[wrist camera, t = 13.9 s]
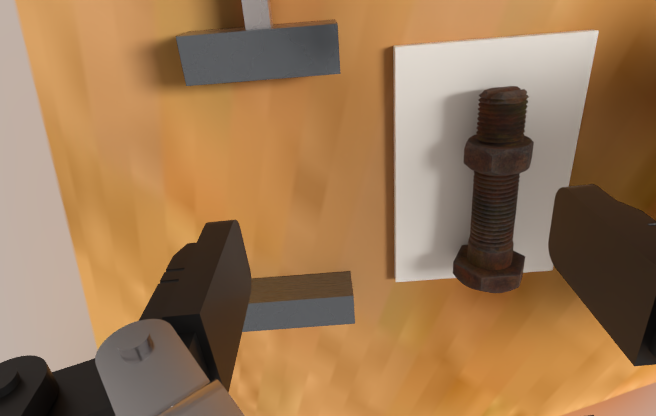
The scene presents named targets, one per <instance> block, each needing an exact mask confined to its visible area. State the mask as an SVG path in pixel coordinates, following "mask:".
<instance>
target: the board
mask: <svg viewBox="0 0 656 416" xmlns="http://www.w3.org/2000/svg"><path fill="white" fill-rule="evenodd" d="M598 32H599V31H598V30H581V31H569V32H556V33H544V34H531V35H519V36H507V37H494V38H482V39H469V40H457V41H445V42H432V43H420V44H407V45H395V46H393V67H394V275H395V281H396V282H406V281H419V280H433V279H446V278H456V277H455V275H454V274H453V261H454V260H455V258H456V256H457V254H458V252H459V250H460V248H461V246H462V245H468V239H469V237H470V230H471V229H470V227H471V215H472V214H471V211H472V199H473V198H472V196H473V183H474V182H473V179H474V177H473V176H474V171H473V170H471V169H470V168H469V167H468V166H466V165H465V164H464V163H463V162H464V148H465V145H466V142H467V141H468V139H469V138H470V137H471V136H473V135H476V134H477V133H476V132H477V131H478V129H477V126H478V125H477V122H479V120H478V119H477V118H478V117H479V115H478V113H479V112H480V111H479V110H478V108H480V106H479V105H478V104H479V103H480V101H478V100H479V99H480V98H481V97H480V96H479V94H481V93H482V92H483V91H484V90H486V89H490V88H496V87H507V86H518V87H519V88H520V89H521V90H522V89H525V90H526V91H527V95H528V96H529V98H527V99H526V100H528V103H527V104H526V105H527V106H528V107H527V108H526V109H525V110H527V113H526V114H525V115H526V118H525V120H526V123H525V128H524V130H525V132H524V133H523V134H524V136H527V137H529V138H531V140H532V141H533V142H534V145H533V153H532V159H531V164H530V167H529V169H528V170H526V171H524V172H522V173H520V174H519V175H520V178H519V186H518V188H519V190H518V195H517V196H518V199H517V207H516V209H517V210H516V216H515V224H514V231H513V232H514V234H513V243H514V246H513V251H515V252H517V253H520V254H522V255H524V256H525V262H524V269H523V273H525V272H538V271H552V270H553V263H552V261H551V258H550V255H549V249H548V241H549V234H550V227H551V220H552V214H553V207H554V200H555V195H556V193H557V191H558V190H559V189H560V188H562V187H569V182H570V177H571V171H572V166H573V161H574V156H575V151H576V146H577V140H578V135H579V130H580V125H581V120H582V115H583V110H584V104H585V99H586V94H587V89H588V84H589V79H590V73H591V68H592V63H593V58H594V53H595V48H596V42H597V37H598Z"/></svg>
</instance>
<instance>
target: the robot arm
mask: <svg viewBox="0 0 656 416" xmlns="http://www.w3.org/2000/svg"><path fill="white" fill-rule="evenodd" d="M548 249H549V255H550V258H551V261H552V263H553V265H554V266H555V268H556V269H557V270H558V271H559V273H560V274H561V275H562V276H563V278H564V279H565V280H566V281H567V283H568V284H569V285H570V286H571V288H572V289H573V290H574V291H575V293H576V294H577V295H578V296H579V298H580V299H581V300H582V301H583V303H584V304H585V305H586V306H587V308H588V309H589V310H590V311H591V313H592V314H593V315H594V316H595V318H596V319H597V320H598V321H599V323H600V324H601V325H602V326H603V328H604V329H605V330H606V331H607V333H608V334H609V335H610V336H611V338H612V339H613V340H614V341H615V343H616V344H617V345H618V346H619V348H620V349H621V350H622V351H623V353H624V354H625V355H626V356H627V358H628V359H629V360H630V361H631V363H632V364H633V365H634V366H642V365H654V364H656V221H655V220H654V219H652V218H651V217H650V216H648V215H647V214H645V213H644V212H643V211H641V210H639V209H636V208H634V207H631V206H629V205H626V204H624V203H622V202H618V201H616V200H615V199H614V198H612V197H611V196H610V195H608V194H607V193H606V192H605V191H603V190H602V189H601V188H599V187H598V186H596V185H594V184H590V185H581V186H571V187H562V188H560V189H559V190H558V191H557V193H556V195H555V200H554V207H553V214H552V220H551V227H550V234H549V241H548ZM250 295H251V273H250V268H249V263H248V259H247V255H246V251H245V246H244V242H243V238H242V234H241V229H240V226H239V223H238V221H237V220H228V221H218V222H208V223H206V224H205V226H204V228H203V230H202V233H201V235H200V237H199V239H198V241H197V243H189V244H187V245H185V246H184V247H183V248H182V249H181V250H180V251H179V252H177V253H176V254H175V255H174V256H173V258H172V259H171V261H170V263H169V265H168V267H167V269H166V272H165V273H164V274H163V276H162V278H161V280H160V284H158V286H157V288H156V289H155V291H154V293H153V295H152V297H151V299H150V301H149V303H148V304H147V306H146V308H145V310H144V312H143V314H142V316H141V318H140V319H139V321H137V322H134V323H131V324H128V325H126V326H124V327H122V328H121V329H119V330H117V331H116V332H114V333H113V334H112V335H110V336H109V337H108V338H107V339H106V340H105V341H104V342H103V343H102V345H101V346H100V347H99V349H98V351H97V354H96V357H95V358H94V359H92V360H89V361H86V362H83V363H80V364H77V365H74V366H71V367H67V368H64V369H61V370H58V371H55V372H51V371H50V369H49V367H48V365H47V364H46V362H45V361H44V359H42V358H40V357H37V356H21V357H16V358H13V359H9V360H7V361H4V362H2V363H0V416H244V414H243V413H242V411H241V410H240V409H239V407H238V406H237V404H236V403H235V402H234V400H233V399H232V398H231V396H230V395H229V393H228V392H229V388H230V383H231V379H232V374H233V370H234V365H235V361H236V357H237V352H238V348H239V343H240V339H241V335H242V330H243V326H244V321H245V317H246V312H247V308H248V304H249V299H250ZM591 416H594V415H591Z"/></svg>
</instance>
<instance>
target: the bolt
mask: <svg viewBox="0 0 656 416" xmlns="http://www.w3.org/2000/svg"><path fill="white" fill-rule="evenodd" d="M479 96H480V97H481V98H480V99H479V100H478V101H480V103H479V104H478V105H479V106H480V108H478V110H479V111H480V112H479V113H478V115H479V117H478V118H477V119H478V120H479V122H477V125H478V126H477V129H478V131H477V132H476V133H477V134H476V135H473V136H471V137H470V138H469V139H468V141H467V142H466V145H465V148H464V162H463V163H464V164H465V165H466V166H468V167H469V168H470V169H471V170H473V171H474V176H473V177H474V179H473V182H474V183H473V196H472V198H473V199H472V211H471V214H472V215H471V227H470V229H471V230H470V237H469V239H468V245H462V246H461V248H460V250H459V252H458V254H457V256H456V258H455V260H454V261H453V274H454V275H455V277H456V278H457V279H458V280H459V281H460V282H462V283H463V284H464V285H466V286H468V287H469V288H472V289H476V290H479V291H484V292H490V293H503V292H507V291H511V290H513V289H515V288H518V287H519V286H520V283H521V279H522V275H523V269H524V262H525V256H524V255H522V254H520V253H517V252H515V251H513V246H514V243H513V234H514V232H513V231H514V224H515V216H516V210H517V209H516V207H517V199H518V196H517V195H518V190H519V188H518V186H519V178H520V175H519V174H520V173H522V172H524V171H526V170H528V169H529V167H530V164H531V159H532V153H533V145H534V142H533V141H532V140H531V138H529V137H527V136H524V134H523V133H524V132H525V130H524V128H525V123H526V120H525V118H526V115H525V114H526V113H527V110H525V109H526V108H527V107H528V106H527V105H526V104H527V103H528V100H526V99H527V98H529V96H528V95H527V91H526V90H525V89H522V90H521V89H520V88H519V87H518V86H507V87H496V88H490V89H486V90H484V91H483V92H482V93H481V94H479Z"/></svg>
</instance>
